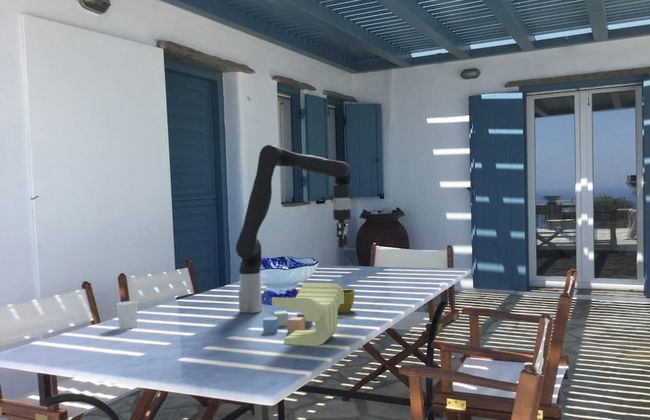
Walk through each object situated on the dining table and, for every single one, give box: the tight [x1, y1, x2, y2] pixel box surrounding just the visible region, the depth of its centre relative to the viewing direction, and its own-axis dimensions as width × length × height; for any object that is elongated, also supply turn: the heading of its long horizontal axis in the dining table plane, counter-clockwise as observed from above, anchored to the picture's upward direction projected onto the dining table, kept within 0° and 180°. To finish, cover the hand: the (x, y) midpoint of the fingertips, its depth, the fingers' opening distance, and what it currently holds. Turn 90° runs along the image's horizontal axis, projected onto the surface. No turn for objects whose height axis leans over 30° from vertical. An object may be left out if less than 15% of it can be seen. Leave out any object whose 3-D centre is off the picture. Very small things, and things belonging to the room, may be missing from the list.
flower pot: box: [337, 288, 355, 314], centre depth 257 cm, size 9×9×9 cm
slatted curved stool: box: [271, 282, 344, 346], centre depth 211 cm, size 30×16×18 cm, turn 162°
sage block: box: [273, 310, 289, 327], centre depth 237 cm, size 5×5×5 cm
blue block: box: [262, 316, 279, 334], centre depth 226 cm, size 5×5×5 cm
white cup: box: [116, 300, 138, 330], centre depth 243 cm, size 8×8×10 cm
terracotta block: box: [286, 316, 306, 334], centre depth 224 cm, size 5×5×5 cm
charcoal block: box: [296, 311, 314, 328], centre depth 234 cm, size 5×5×5 cm
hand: (343, 246), depth 254 cm, fingers open, 8 cm apart
